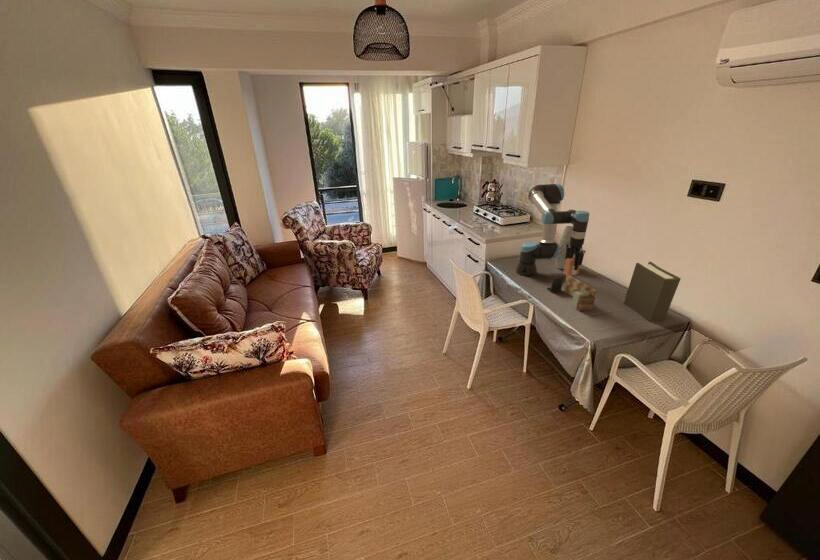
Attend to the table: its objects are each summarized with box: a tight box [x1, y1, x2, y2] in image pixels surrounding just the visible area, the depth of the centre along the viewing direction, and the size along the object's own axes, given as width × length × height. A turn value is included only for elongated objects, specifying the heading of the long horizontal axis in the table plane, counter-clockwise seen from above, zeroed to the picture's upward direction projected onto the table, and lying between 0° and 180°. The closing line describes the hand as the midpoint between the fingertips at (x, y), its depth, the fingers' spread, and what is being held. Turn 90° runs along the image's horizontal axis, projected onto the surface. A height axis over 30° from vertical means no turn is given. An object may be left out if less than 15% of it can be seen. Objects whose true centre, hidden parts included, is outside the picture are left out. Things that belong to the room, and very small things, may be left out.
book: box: [623, 261, 682, 323], centre depth 189 cm, size 22×9×28 cm, turn 8°
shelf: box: [563, 275, 597, 312], centre depth 208 cm, size 25×11×12 cm, turn 17°
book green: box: [571, 290, 590, 309], centre depth 202 cm, size 4×8×10 cm, turn 107°
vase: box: [553, 225, 575, 270], centre depth 250 cm, size 17×17×33 cm
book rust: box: [562, 257, 581, 276], centre depth 204 cm, size 4×8×10 cm, turn 107°
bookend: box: [546, 276, 564, 293], centre depth 222 cm, size 5×8×10 cm, turn 107°
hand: (570, 272), depth 206 cm, fingers closed on book rust, 4 cm apart
